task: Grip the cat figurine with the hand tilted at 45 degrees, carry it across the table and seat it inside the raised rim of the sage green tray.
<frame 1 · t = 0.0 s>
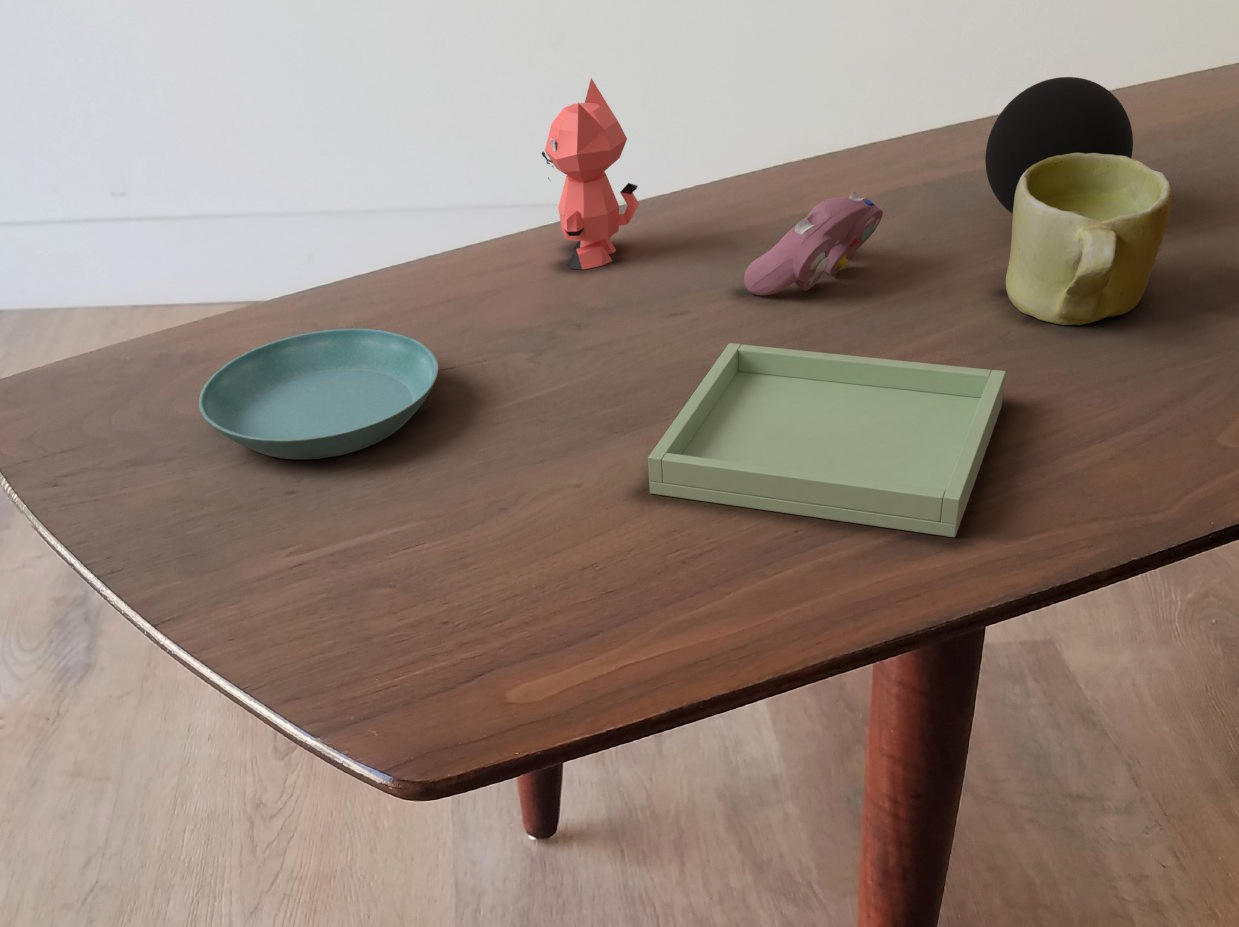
saucer: (327, 420, 86), on the table
cat figurine: (596, 258, 104), on the table
sage green tray: (830, 449, 78), on the table
mug: (1073, 314, 90), on the table
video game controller: (814, 282, 97), on the table
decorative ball: (1048, 223, 102), on the table
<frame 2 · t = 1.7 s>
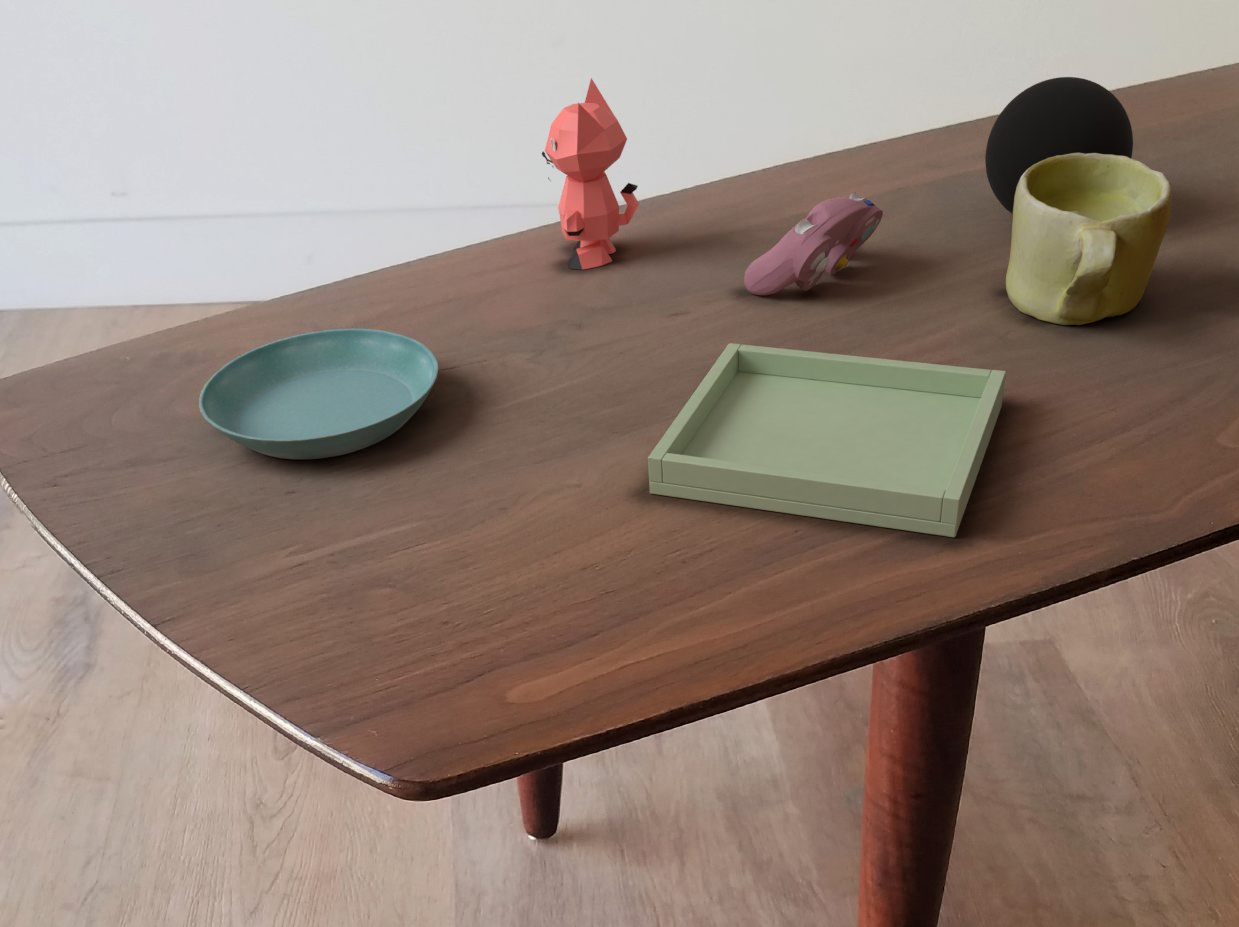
nothing on the table moved.
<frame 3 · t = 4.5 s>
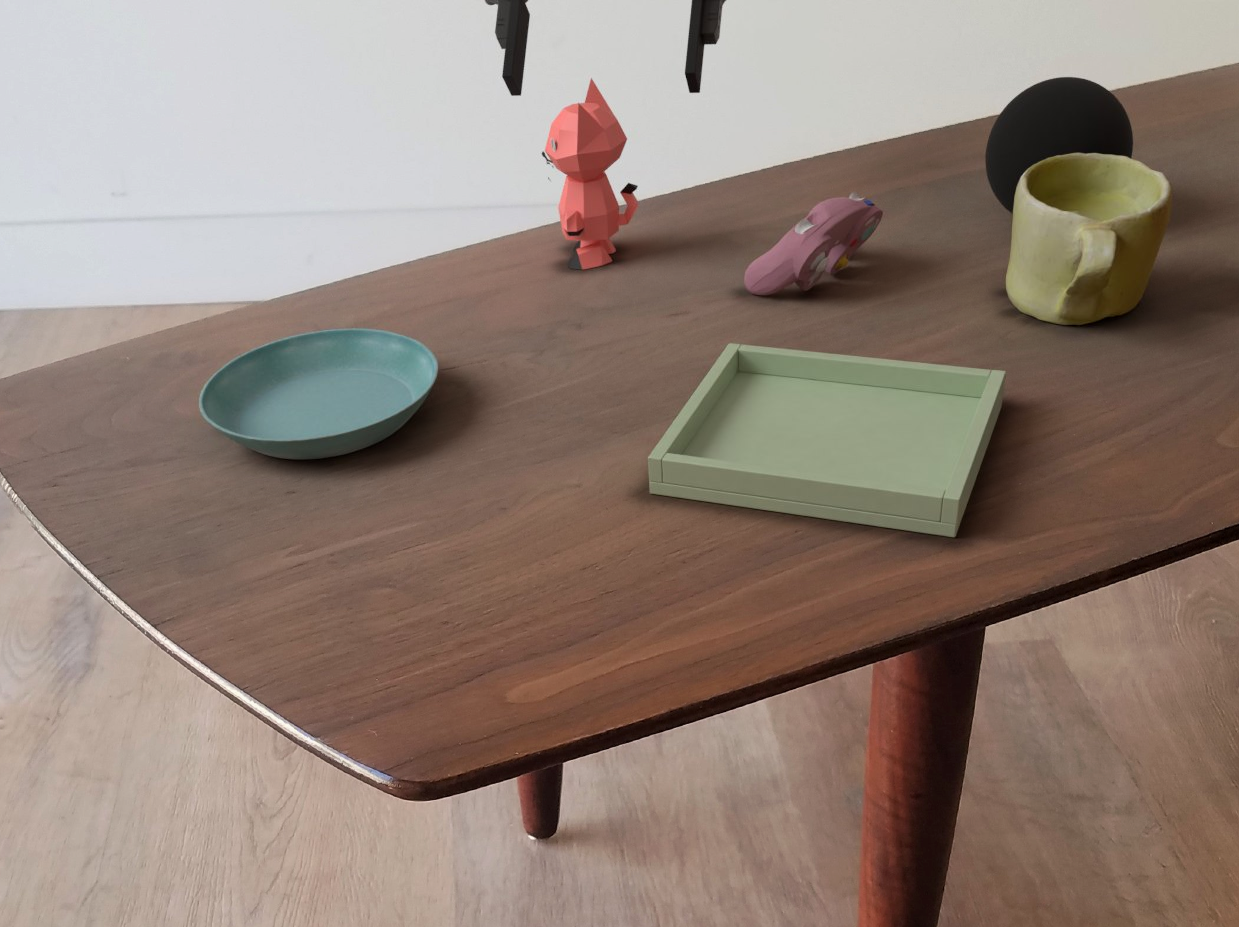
hand: (600, 85, 101), 11 cm above the table, tool tilted 45°, fingers open, 13 cm apart
nothing on the table moved.
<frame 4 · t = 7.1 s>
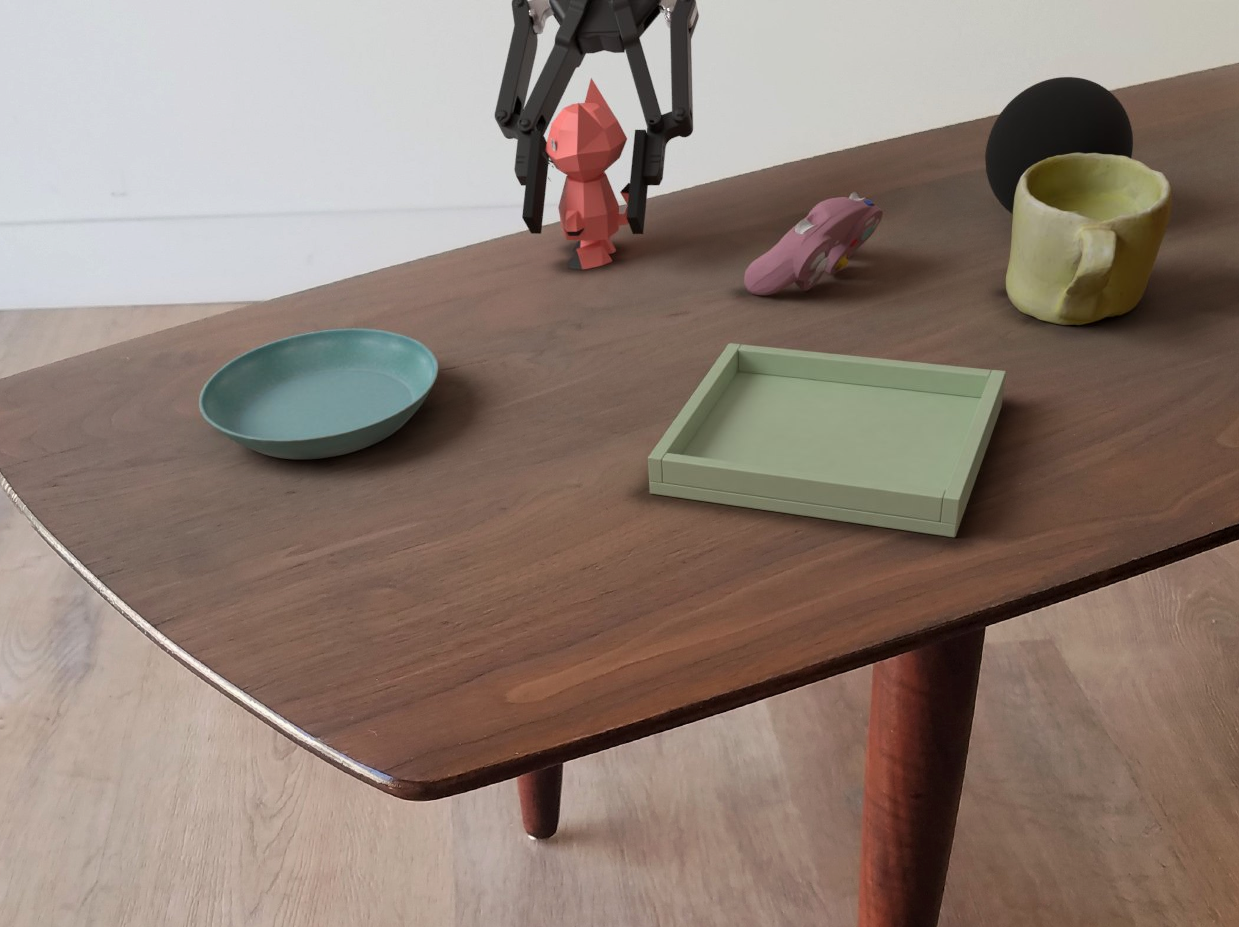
hand: (583, 225, 98), 4 cm above the table, tool tilted 45°, fingers closed on cat figurine, 7 cm apart
cat figurine: (596, 258, 104), on the table, touching gripper
everything else where it was.
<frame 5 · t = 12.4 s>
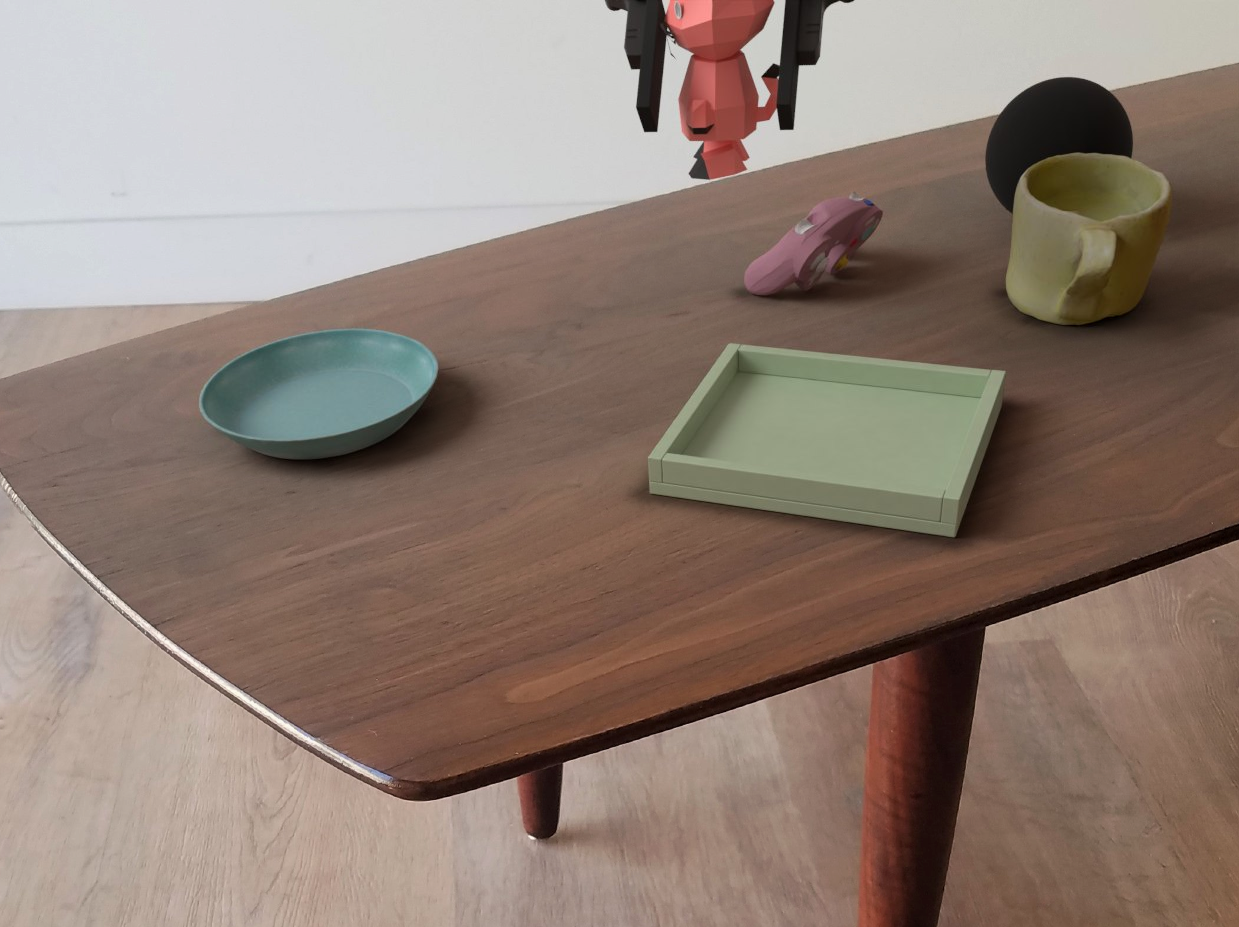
hand: (715, 118, 75), 16 cm above the table, tool tilted 45°, fingers closed on cat figurine, 7 cm apart
cat figurine: (725, 167, 80), point 12 cm above the table, touching gripper
everything else where it was.
when the fingers open (4 cm above the table, at t = 17.6 s): cat figurine stays where it is, resting on sage green tray.
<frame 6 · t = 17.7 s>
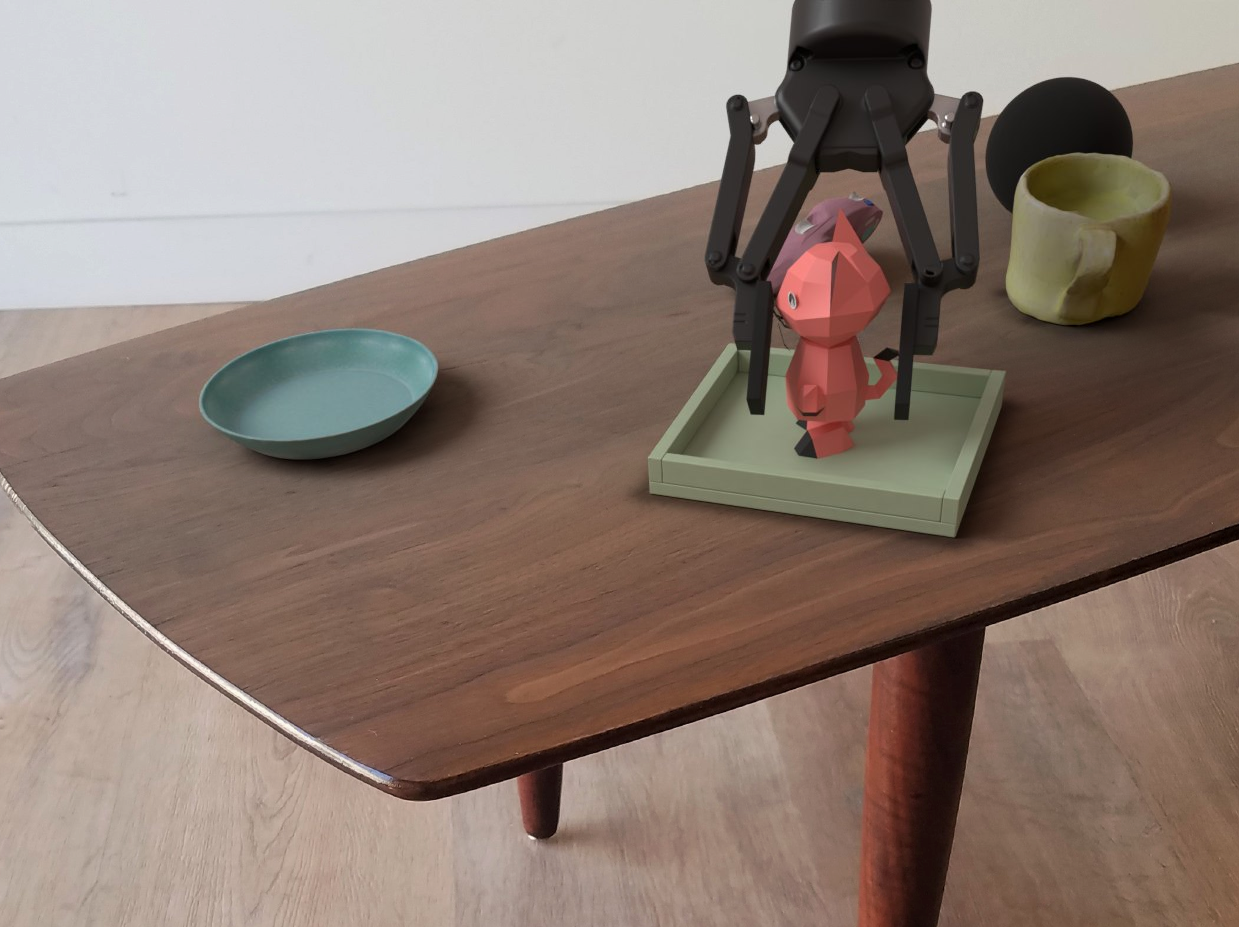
hand: (827, 409, 73), 4 cm above the table, tool tilted 45°, fingers open, 7 cm apart
cat figurine: (830, 439, 78), point 1 cm above the table, touching sage green tray
everything else where it was.
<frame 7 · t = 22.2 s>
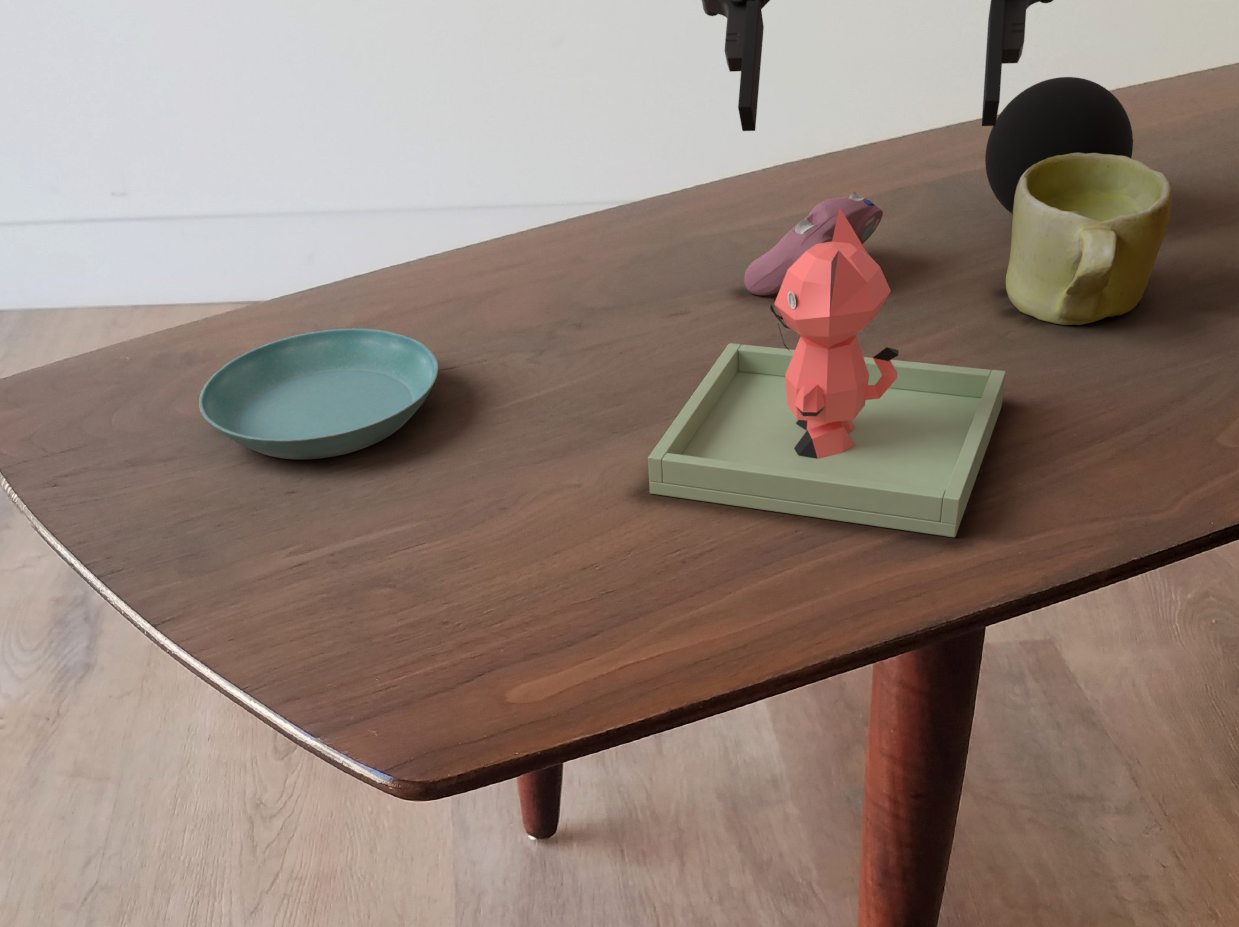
hand: (866, 117, 78), 15 cm above the table, tool tilted 45°, fingers open, 13 cm apart
nothing on the table moved.
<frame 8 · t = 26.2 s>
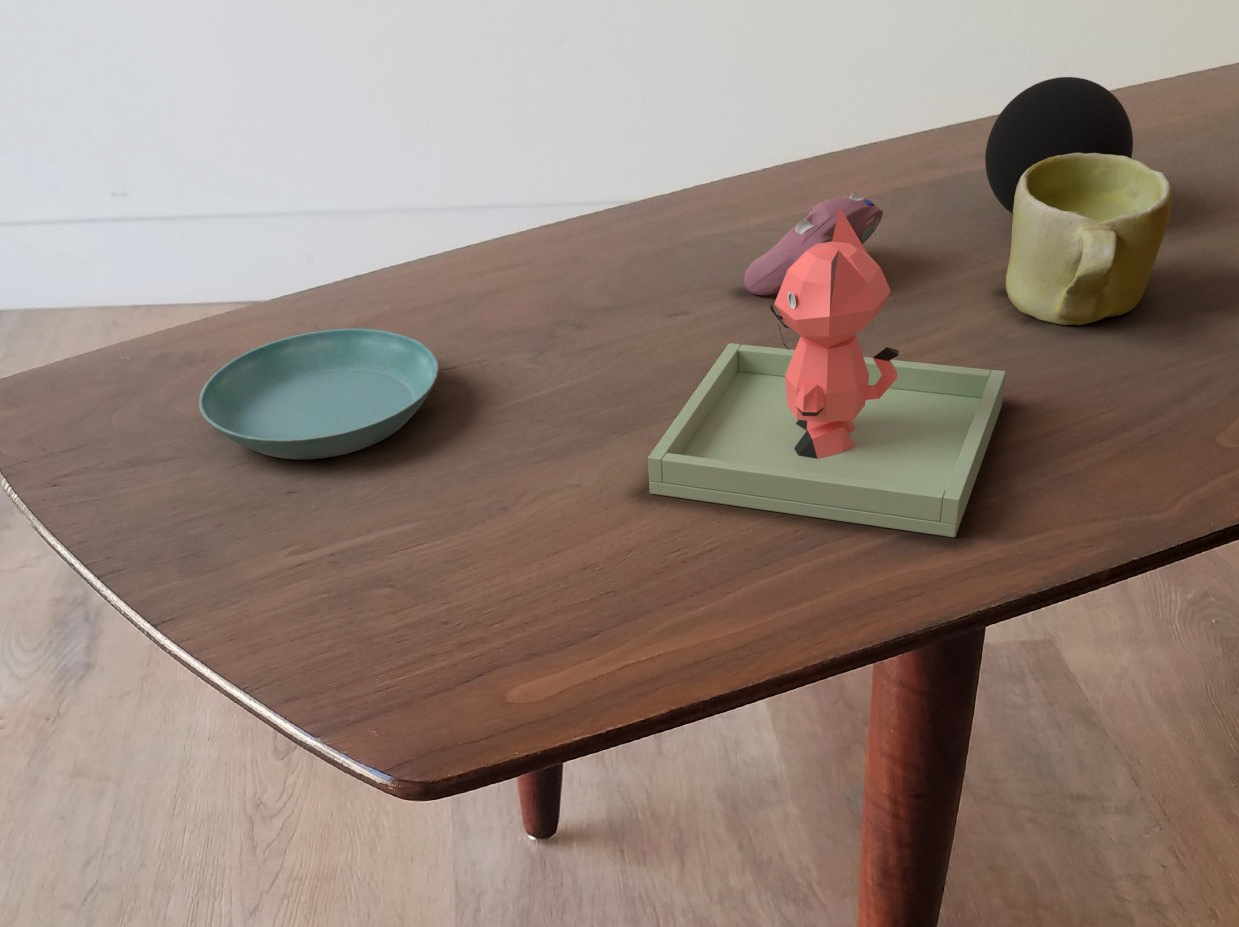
nothing on the table moved.
at the end: cat figurine inside the target area in the sage green tray (0.0 cm from its centre), point 0.6 cm above the sage green tray's base; cat figurine tilted 0°; the gripper is holding nothing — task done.
